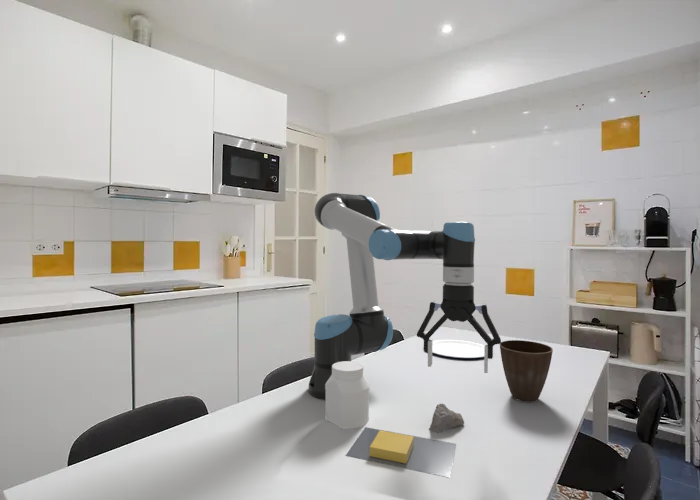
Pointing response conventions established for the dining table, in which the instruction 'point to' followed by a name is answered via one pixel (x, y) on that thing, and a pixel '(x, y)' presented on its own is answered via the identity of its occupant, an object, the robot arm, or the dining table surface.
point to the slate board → (422, 457)
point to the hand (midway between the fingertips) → (457, 368)
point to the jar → (347, 396)
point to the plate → (458, 349)
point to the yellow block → (392, 446)
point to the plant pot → (525, 367)
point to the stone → (445, 419)
